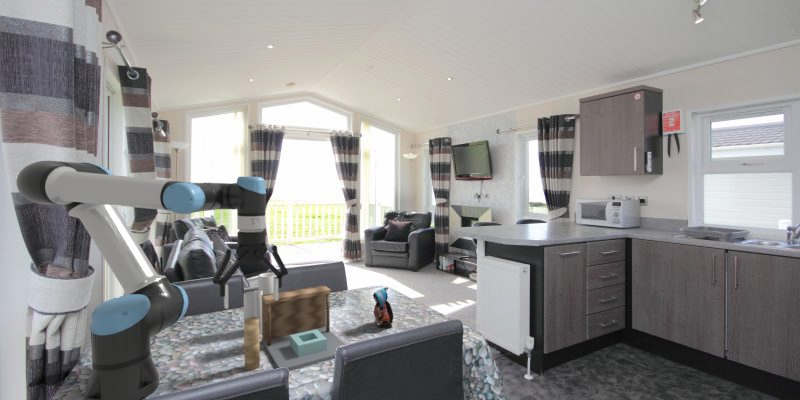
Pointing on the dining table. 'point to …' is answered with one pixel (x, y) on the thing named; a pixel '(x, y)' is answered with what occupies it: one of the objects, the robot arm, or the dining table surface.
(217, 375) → the dining table surface
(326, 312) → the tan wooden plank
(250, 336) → the oak peg
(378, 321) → the figurine
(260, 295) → the vase
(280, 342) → the socket board
